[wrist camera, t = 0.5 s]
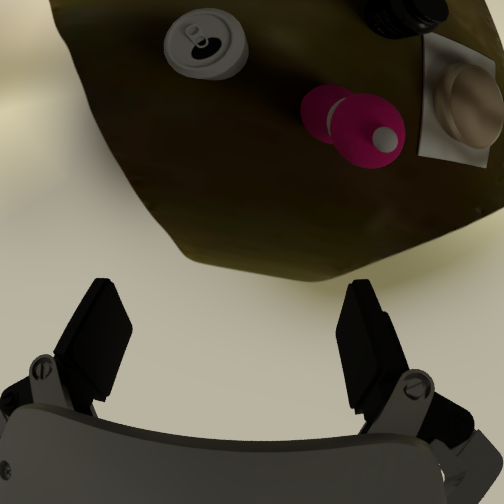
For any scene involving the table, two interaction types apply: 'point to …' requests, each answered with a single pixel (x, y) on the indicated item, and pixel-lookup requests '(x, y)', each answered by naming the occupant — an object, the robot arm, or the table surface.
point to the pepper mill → (354, 124)
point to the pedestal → (458, 103)
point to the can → (206, 45)
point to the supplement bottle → (405, 17)
